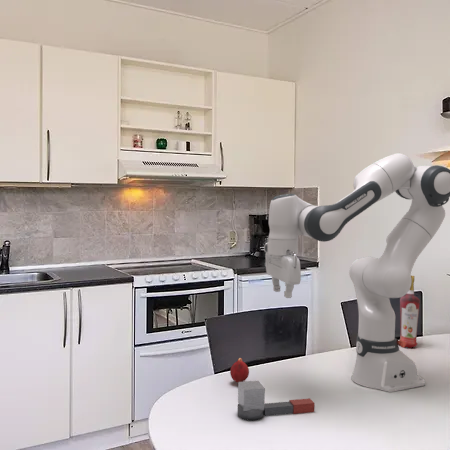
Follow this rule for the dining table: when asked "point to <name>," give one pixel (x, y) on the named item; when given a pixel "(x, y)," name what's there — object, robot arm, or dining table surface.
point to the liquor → (409, 317)
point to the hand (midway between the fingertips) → (282, 294)
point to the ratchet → (278, 409)
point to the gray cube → (251, 395)
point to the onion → (239, 371)
